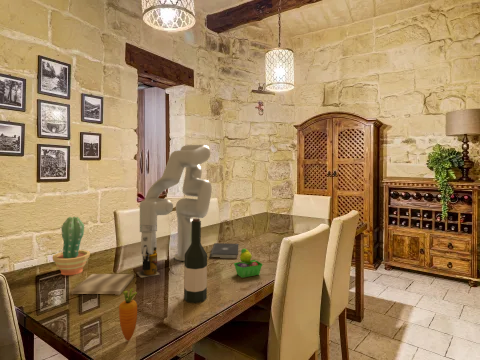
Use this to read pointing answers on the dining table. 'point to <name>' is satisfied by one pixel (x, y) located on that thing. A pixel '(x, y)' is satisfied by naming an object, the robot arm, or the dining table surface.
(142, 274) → the condiment
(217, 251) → the book
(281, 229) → the dining table surface
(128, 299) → the carrot
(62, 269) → the potted cactus
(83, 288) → the board
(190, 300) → the wine bottle
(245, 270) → the fruit basket
